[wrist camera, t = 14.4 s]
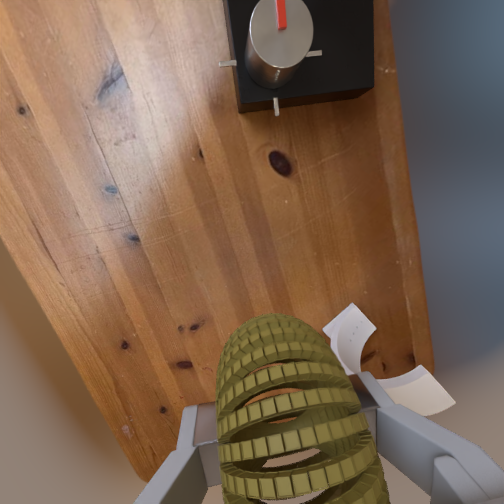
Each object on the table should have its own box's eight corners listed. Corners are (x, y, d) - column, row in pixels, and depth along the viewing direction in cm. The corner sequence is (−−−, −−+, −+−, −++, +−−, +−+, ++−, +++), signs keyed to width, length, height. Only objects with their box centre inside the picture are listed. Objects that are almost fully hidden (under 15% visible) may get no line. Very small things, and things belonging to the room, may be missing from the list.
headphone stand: (373, 325, 32) (456, 402, 21) (337, 355, 33) (399, 447, 21) (352, 302, 31) (428, 371, 20) (315, 334, 32) (368, 419, 20)
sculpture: (209, 290, 11) (181, 522, 3) (298, 273, 11) (455, 453, 4) (240, 429, 13) (265, 763, 6) (314, 411, 14) (435, 708, 6)
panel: (227, 129, 25) (228, 122, 22) (205, -13, 22) (202, -46, 19) (357, 112, 26) (375, 102, 23) (353, -27, 23) (374, -60, 20)
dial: (299, 86, 22) (317, 62, 18) (248, 91, 21) (254, 69, 17) (294, 24, 20) (312, -16, 16) (240, 29, 20) (245, -11, 16)
